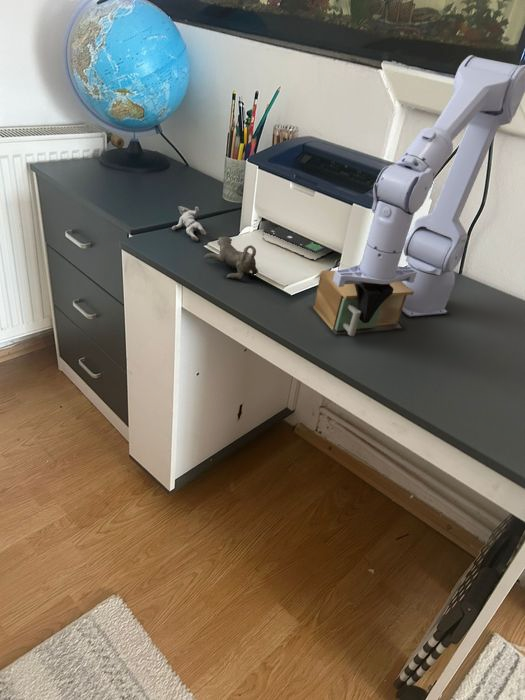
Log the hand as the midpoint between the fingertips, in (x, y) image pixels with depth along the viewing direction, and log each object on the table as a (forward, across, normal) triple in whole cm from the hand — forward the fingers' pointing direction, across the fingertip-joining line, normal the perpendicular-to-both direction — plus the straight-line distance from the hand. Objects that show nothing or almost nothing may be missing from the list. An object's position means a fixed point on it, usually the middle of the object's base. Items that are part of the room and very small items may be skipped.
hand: (363, 320), depth 89 cm
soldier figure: (+4, +17, -49) cm, 52 cm away
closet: (+4, -4, -8) cm, 10 cm away
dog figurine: (+4, +14, -28) cm, 32 cm away
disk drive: (+4, -7, -40) cm, 40 cm away
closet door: (+4, -1, -1) cm, 4 cm away
